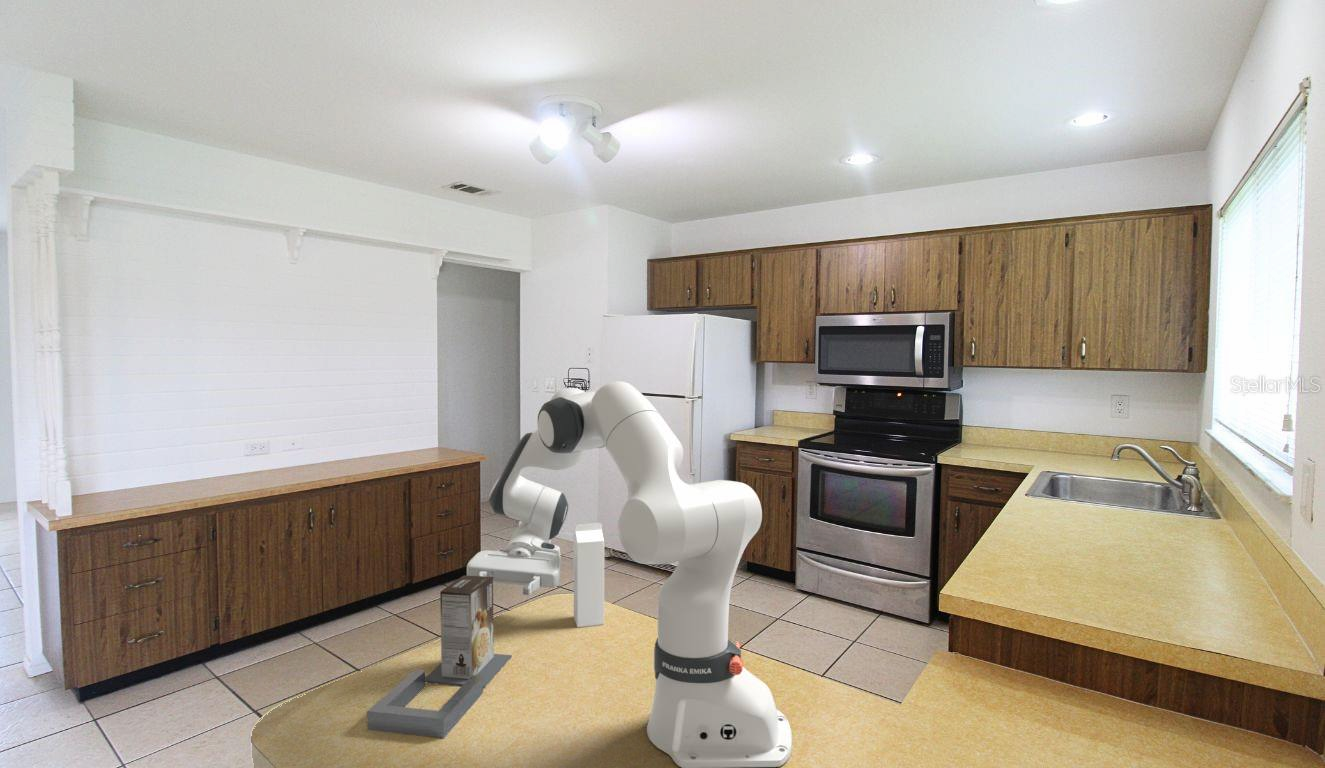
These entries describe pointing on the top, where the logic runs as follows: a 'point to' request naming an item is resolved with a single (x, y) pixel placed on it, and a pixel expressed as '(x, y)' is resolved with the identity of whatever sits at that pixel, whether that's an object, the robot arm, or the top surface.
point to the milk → (588, 575)
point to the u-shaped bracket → (421, 722)
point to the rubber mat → (486, 672)
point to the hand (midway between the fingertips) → (503, 590)
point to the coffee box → (466, 626)
